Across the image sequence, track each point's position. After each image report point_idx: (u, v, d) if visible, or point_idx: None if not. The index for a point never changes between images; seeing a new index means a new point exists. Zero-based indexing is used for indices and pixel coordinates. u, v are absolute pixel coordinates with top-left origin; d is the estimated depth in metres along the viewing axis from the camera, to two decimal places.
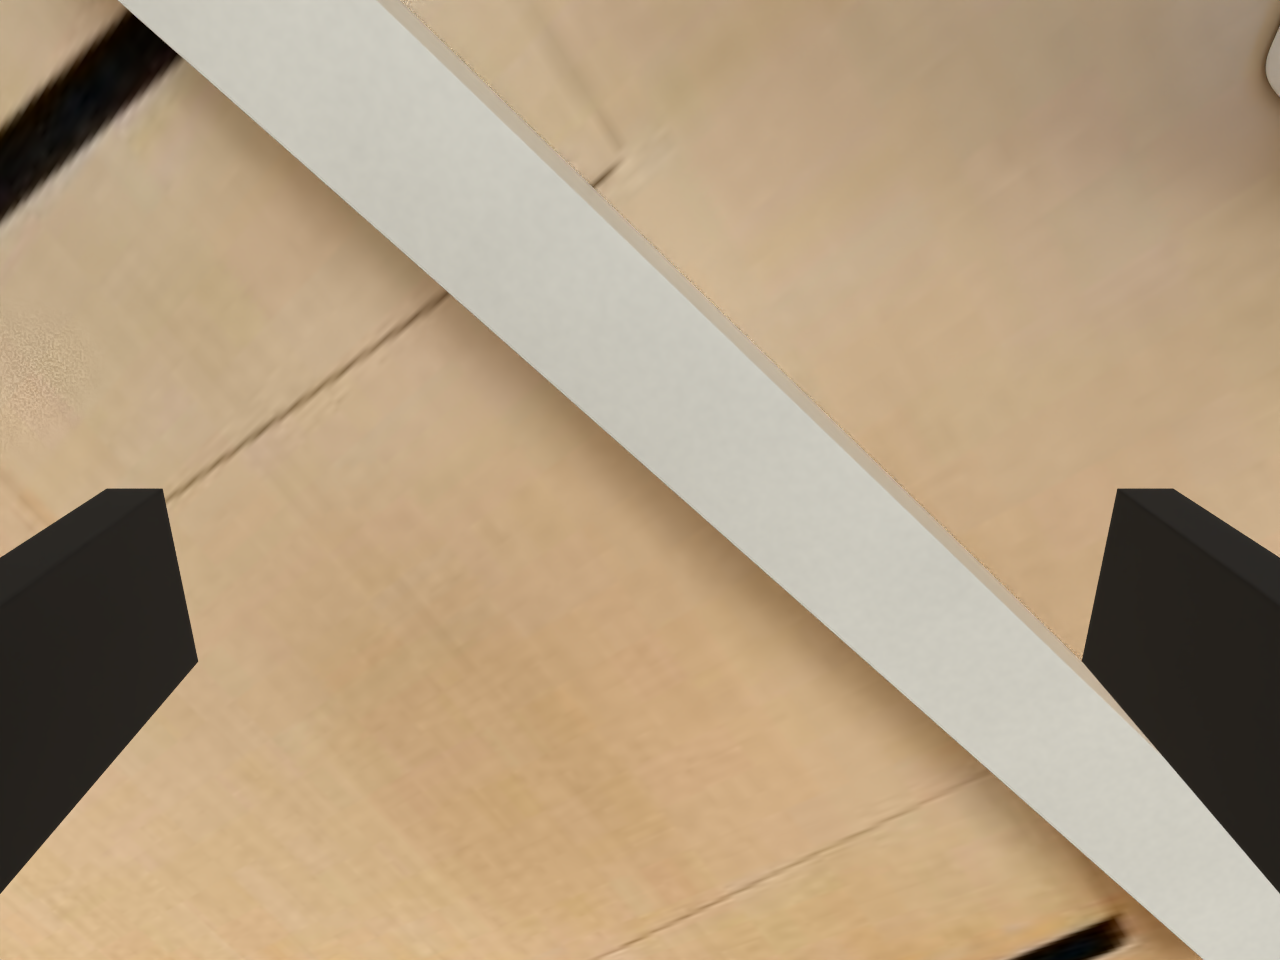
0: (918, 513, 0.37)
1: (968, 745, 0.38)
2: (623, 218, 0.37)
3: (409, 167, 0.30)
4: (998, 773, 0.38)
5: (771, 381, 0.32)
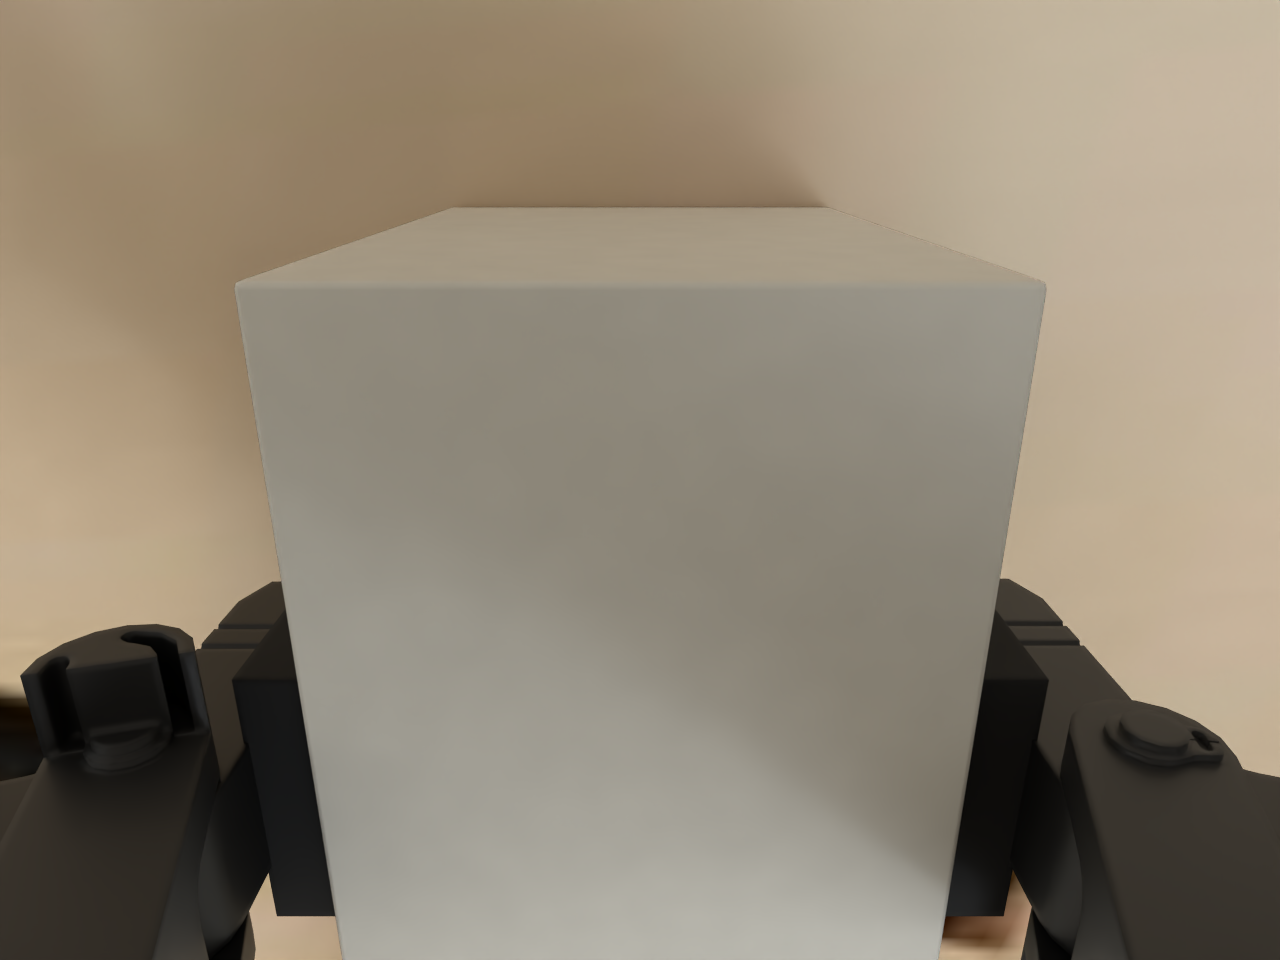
0: None
1: None
2: None
3: None
4: None
5: None
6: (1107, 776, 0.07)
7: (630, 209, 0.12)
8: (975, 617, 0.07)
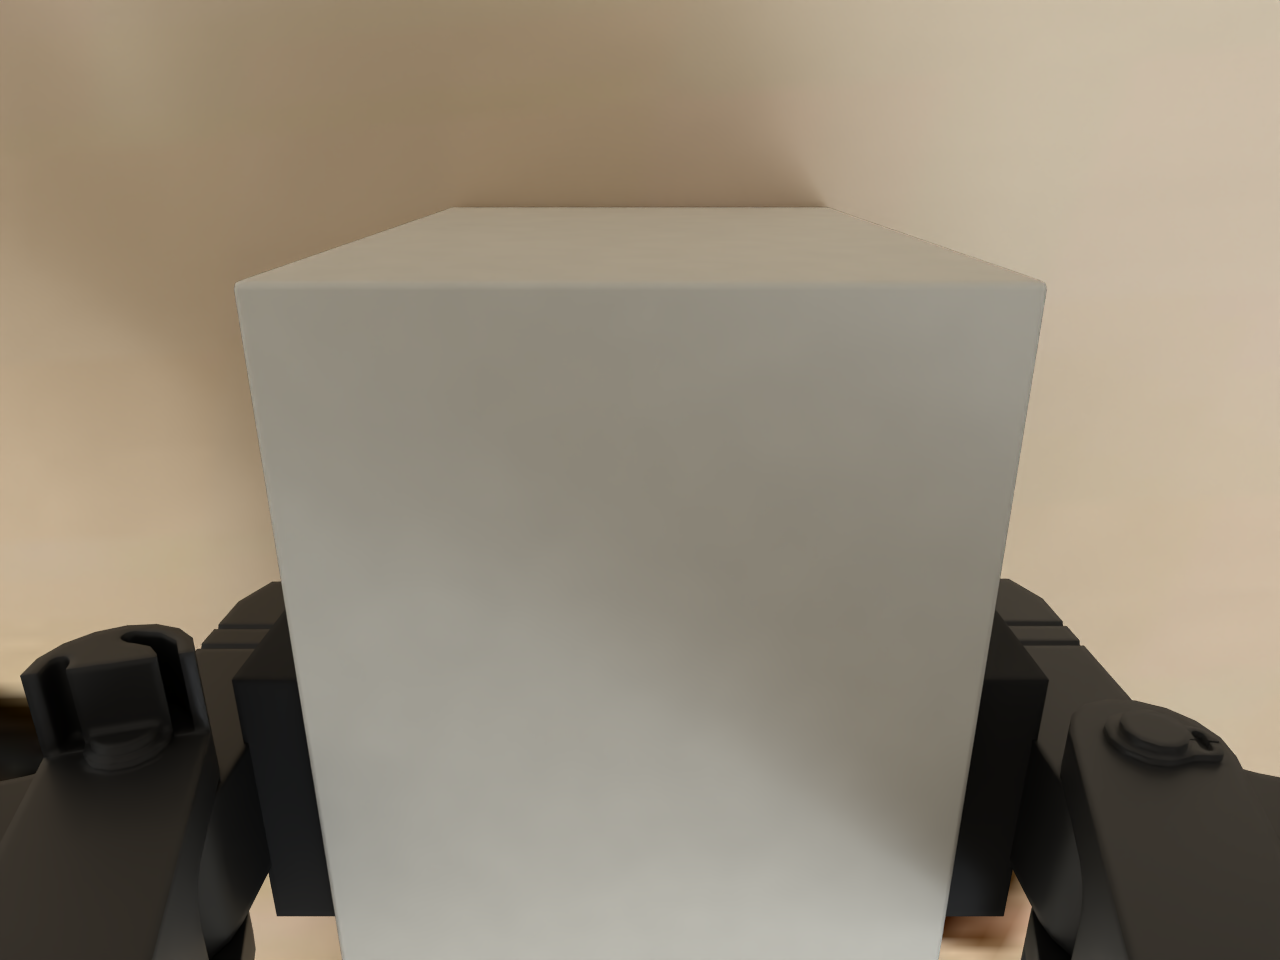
0: None
1: None
2: None
3: None
4: None
5: None
6: (1107, 776, 0.07)
7: (630, 209, 0.12)
8: (973, 617, 0.07)
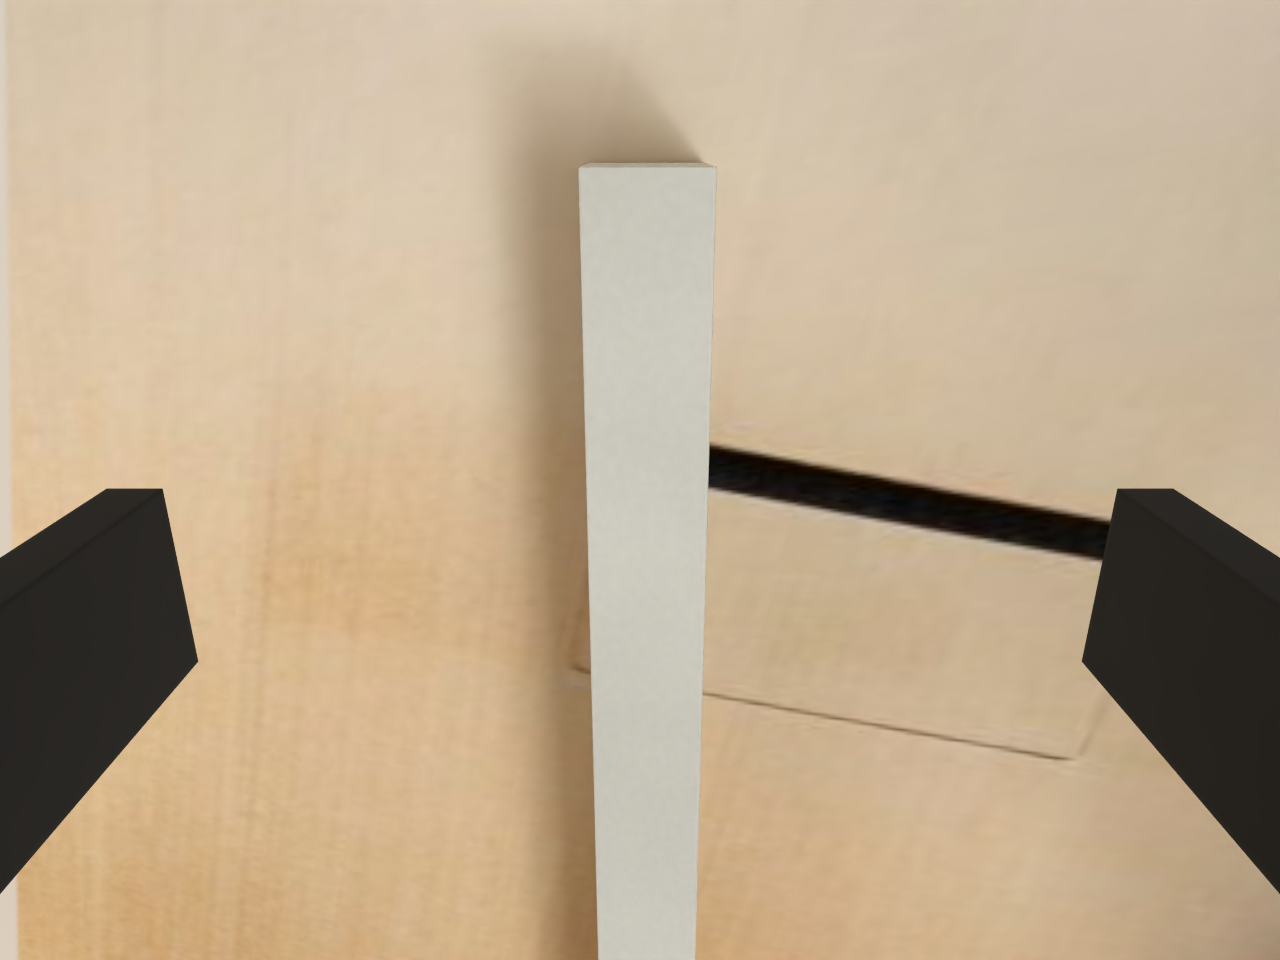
0: None
1: None
2: None
3: (638, 652, 0.44)
4: None
5: (696, 874, 0.49)
6: None
7: None
8: (710, 233, 0.37)
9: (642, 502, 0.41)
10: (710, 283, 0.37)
